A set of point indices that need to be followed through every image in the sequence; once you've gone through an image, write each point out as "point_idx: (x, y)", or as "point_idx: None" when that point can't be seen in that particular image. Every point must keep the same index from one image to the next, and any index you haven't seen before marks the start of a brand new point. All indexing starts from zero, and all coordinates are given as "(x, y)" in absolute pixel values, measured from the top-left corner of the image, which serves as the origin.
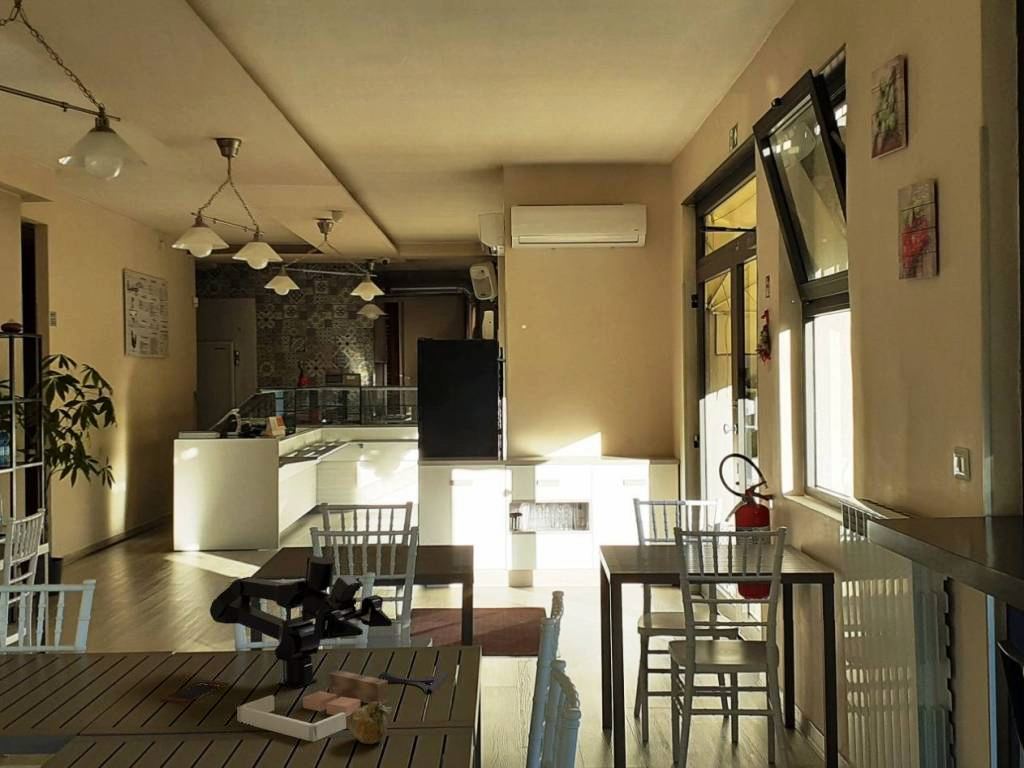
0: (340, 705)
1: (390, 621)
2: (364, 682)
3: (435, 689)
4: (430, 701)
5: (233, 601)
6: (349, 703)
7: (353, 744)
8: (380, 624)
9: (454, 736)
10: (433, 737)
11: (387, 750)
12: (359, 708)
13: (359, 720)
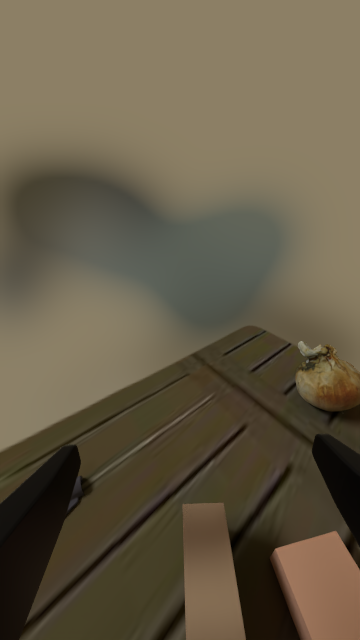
0: (352, 560)
1: (74, 447)
2: (237, 592)
3: None
4: (131, 445)
5: None
6: (319, 548)
7: None
8: (26, 602)
9: (221, 347)
10: (240, 357)
11: None
12: (349, 374)
13: (352, 365)
